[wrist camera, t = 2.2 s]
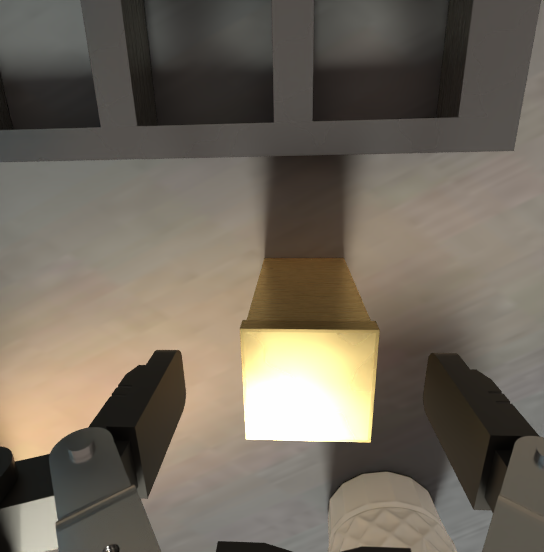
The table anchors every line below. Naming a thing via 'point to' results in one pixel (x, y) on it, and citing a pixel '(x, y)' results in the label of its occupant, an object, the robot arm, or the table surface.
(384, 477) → the white cup
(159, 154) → the grey compartment tray
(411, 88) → the table surface
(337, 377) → the golden rectangular block
